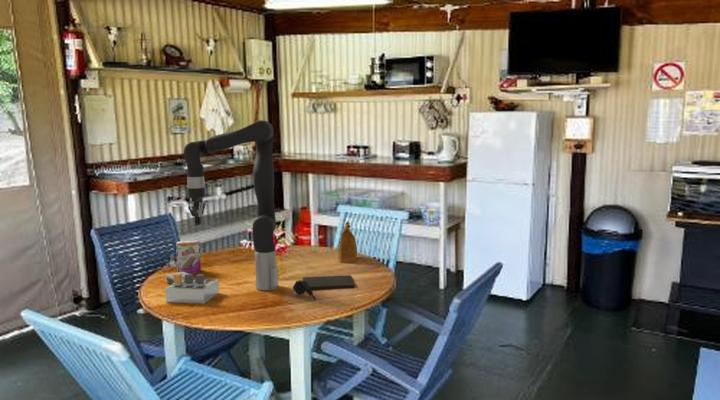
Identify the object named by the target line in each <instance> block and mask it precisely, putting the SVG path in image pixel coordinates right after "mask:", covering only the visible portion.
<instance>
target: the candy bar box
mask: <svg viewBox="0 0 720 400" xmlns="http://www.w3.org/2000/svg"><path fill="white" fill-rule="evenodd" d="M175 245H176V269H177V272H176V273H178V272H186V273H189V274H199V273H202V268H201V267H202V266H201V245H200V240H199V239H198V240H197V239H196V240H184V241H176V243H175ZM198 272H199V273H198Z"/></svg>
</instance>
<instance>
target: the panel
mask: <svg viewBox="0 0 720 400" xmlns="http://www.w3.org/2000/svg"><path fill="white" fill-rule="evenodd" d="M182 281H184V283H185V278H182ZM193 282H195V284H196V278H193ZM204 282H206V284H205V285H204V286H202V287H201V286H195V284H193V285H192V286H184V283H183V284H182V285H180V286H173V285H172V284H170V285H169V286H167V287H165V288H164V290H165V291H164V292H165V302H166V303H178V304H179V303H181V304H182V303H184V304H203V305H204V304H206V303H207V302H208V301H210V300H211V299H212V298H214V297H215V296H216V295H218V294H219V293H220V287H219V285H220V284H219V279H216V278H215V279H213V278H211V279H210V278H204Z"/></svg>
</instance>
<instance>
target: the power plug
mask: <svg viewBox="0 0 720 400" xmlns="http://www.w3.org/2000/svg"><path fill="white" fill-rule="evenodd" d="M292 289H293V295H296V294H297V295H304V294H305V293H306V294H308V295H309V296H310V297H312V298H313V300H315V301H316V300H317V298H316V297H315V296H314V292H313V290H311V288H310V287H309V285H308V284H307V282H306V281H303V279H302V280H301V279H300V280H296V281H295V283H294V284H293V286H292Z"/></svg>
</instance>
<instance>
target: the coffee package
mask: <svg viewBox="0 0 720 400" xmlns="http://www.w3.org/2000/svg"><path fill="white" fill-rule="evenodd" d="M350 224H351V223H350V222H349V221H346V222H345V224H344V225H345V226H344V227H343V230H342V233H341V237H340V241H339V245H338V254H337V255H338V258H337V260H338V262H339V263H340V264H351V263H356V262H357V256H358V247H357V240H356V237H355V236H354V234H353V232H352V231H351V230H350V228H351V226H352V225H350Z"/></svg>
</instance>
